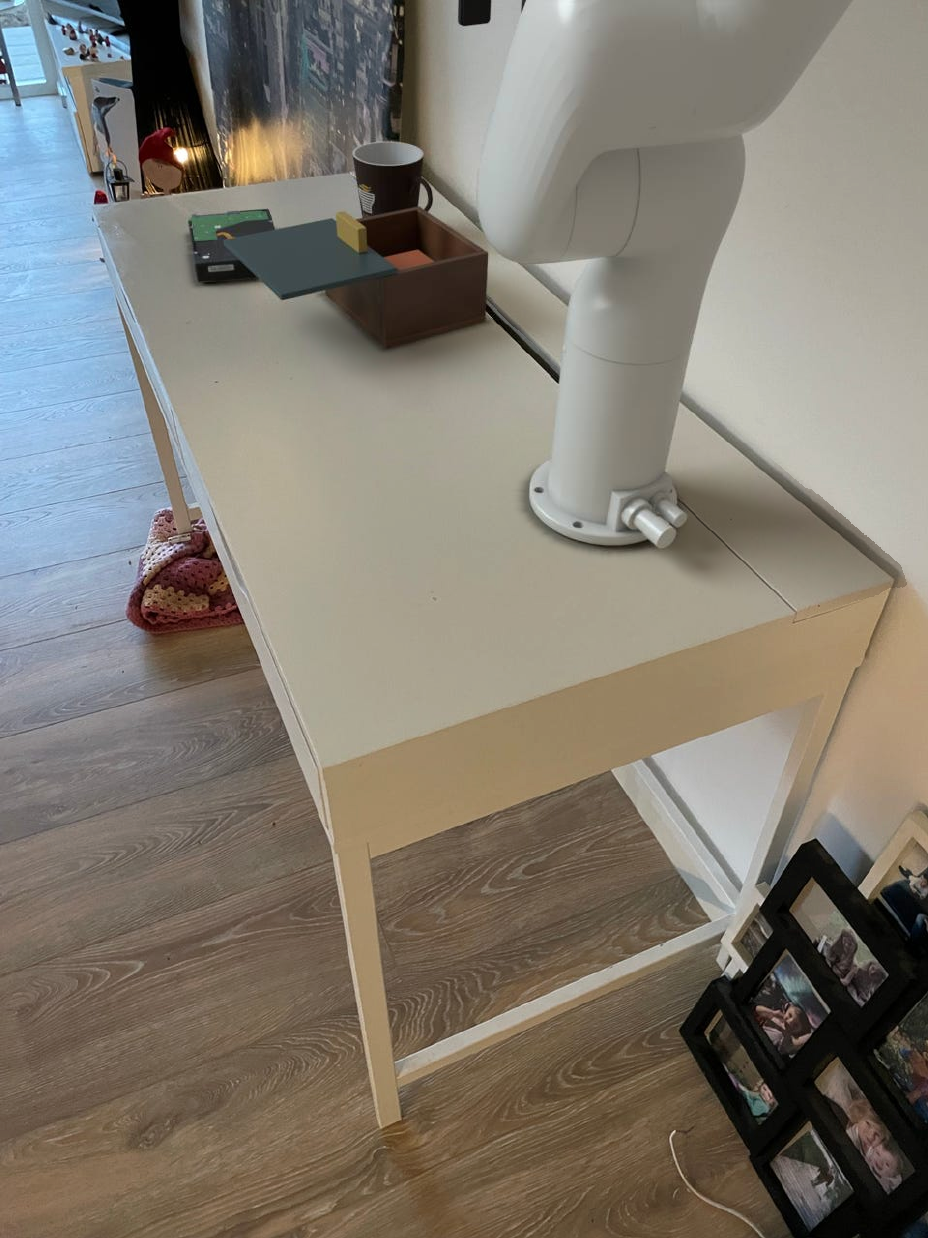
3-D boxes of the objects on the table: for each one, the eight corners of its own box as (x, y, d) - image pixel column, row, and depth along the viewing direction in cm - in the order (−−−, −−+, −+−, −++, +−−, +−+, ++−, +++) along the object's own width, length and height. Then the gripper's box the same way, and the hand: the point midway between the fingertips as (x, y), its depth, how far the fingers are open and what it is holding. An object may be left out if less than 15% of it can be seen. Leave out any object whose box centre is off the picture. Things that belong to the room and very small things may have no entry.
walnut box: (485, 321, 105) (488, 252, 99) (386, 348, 100) (383, 277, 94) (419, 272, 113) (419, 205, 108) (325, 294, 108) (319, 226, 103)
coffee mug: (349, 225, 123) (345, 143, 116) (413, 219, 125) (413, 139, 118) (370, 262, 115) (367, 177, 108) (438, 255, 117) (439, 171, 110)
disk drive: (287, 278, 111) (271, 228, 121) (285, 255, 109) (268, 205, 119) (198, 286, 109) (189, 234, 119) (194, 263, 107) (185, 212, 117)
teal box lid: (397, 273, 95) (396, 242, 93) (281, 300, 90) (278, 268, 88) (332, 223, 104) (330, 194, 101) (224, 245, 98) (219, 215, 96)
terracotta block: (438, 303, 106) (438, 264, 103) (403, 312, 104) (402, 272, 101) (418, 287, 108) (418, 249, 105) (383, 296, 107) (382, 257, 104)
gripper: (416, -232, 75) (417, 19, 87) (543, -217, 64) (525, 65, 76) (495, -231, 78) (486, 11, 90) (628, -217, 67) (598, 55, 79)
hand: (504, 36), depth 83 cm, fingers open, 9 cm apart
